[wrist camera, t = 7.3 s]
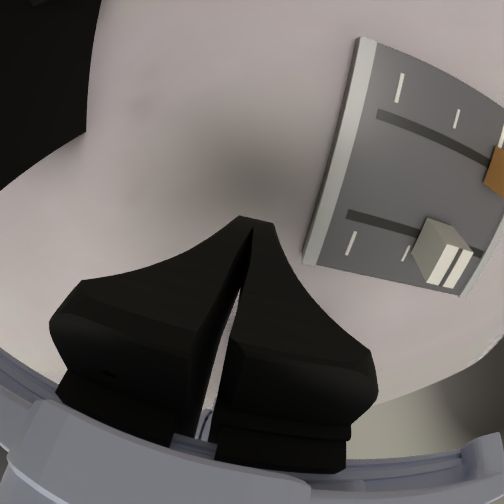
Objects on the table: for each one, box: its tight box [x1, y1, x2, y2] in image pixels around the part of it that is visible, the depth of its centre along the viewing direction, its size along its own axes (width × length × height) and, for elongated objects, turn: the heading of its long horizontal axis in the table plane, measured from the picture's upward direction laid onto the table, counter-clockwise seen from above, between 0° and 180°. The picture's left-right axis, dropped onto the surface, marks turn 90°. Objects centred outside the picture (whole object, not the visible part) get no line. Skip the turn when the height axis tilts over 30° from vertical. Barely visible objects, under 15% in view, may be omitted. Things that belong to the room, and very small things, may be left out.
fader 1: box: [411, 218, 474, 289], centre depth 17 cm, size 3×2×4 cm
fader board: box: [302, 36, 504, 299], centre depth 17 cm, size 16×16×2 cm
